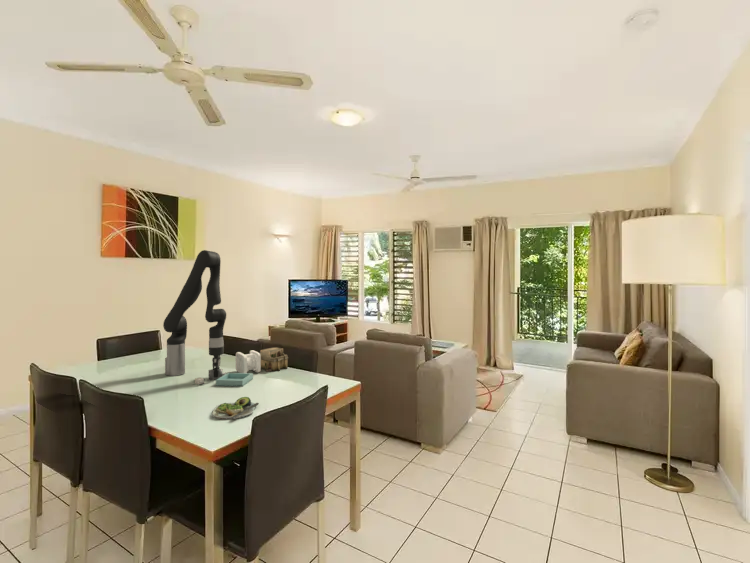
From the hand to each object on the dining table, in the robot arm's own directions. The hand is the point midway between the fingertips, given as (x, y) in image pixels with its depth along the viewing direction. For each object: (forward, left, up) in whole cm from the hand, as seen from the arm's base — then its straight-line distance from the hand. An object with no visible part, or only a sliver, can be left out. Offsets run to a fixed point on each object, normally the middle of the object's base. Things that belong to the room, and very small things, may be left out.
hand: (216, 375), depth 212 cm
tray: (+13, -5, -2) cm, 14 cm away
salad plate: (+31, -47, -3) cm, 56 cm away
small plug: (-5, -9, -2) cm, 10 cm away
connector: (0, 0, -2) cm, 2 cm away
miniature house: (+23, +25, -2) cm, 34 cm away
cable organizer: (+12, +15, -2) cm, 19 cm away
